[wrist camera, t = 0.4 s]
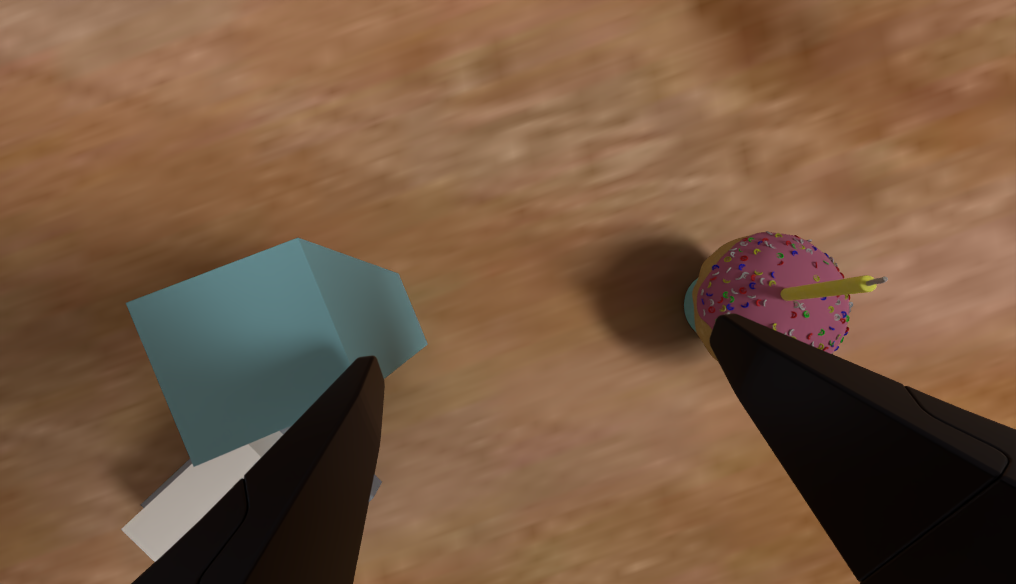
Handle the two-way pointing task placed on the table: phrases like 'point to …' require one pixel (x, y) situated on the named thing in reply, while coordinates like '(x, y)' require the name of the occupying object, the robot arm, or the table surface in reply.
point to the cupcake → (775, 289)
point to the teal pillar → (269, 339)
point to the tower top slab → (192, 497)
